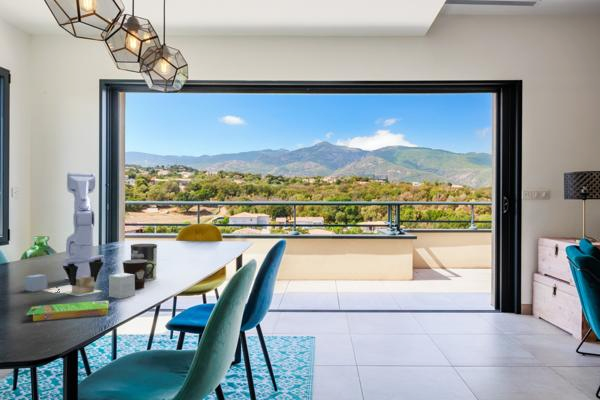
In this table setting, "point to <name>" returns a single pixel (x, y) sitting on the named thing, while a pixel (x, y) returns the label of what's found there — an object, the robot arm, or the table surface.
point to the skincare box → (121, 285)
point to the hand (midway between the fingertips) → (83, 283)
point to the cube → (35, 282)
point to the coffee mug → (137, 271)
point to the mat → (83, 293)
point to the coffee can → (146, 257)
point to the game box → (69, 310)
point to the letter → (62, 289)
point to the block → (83, 285)
